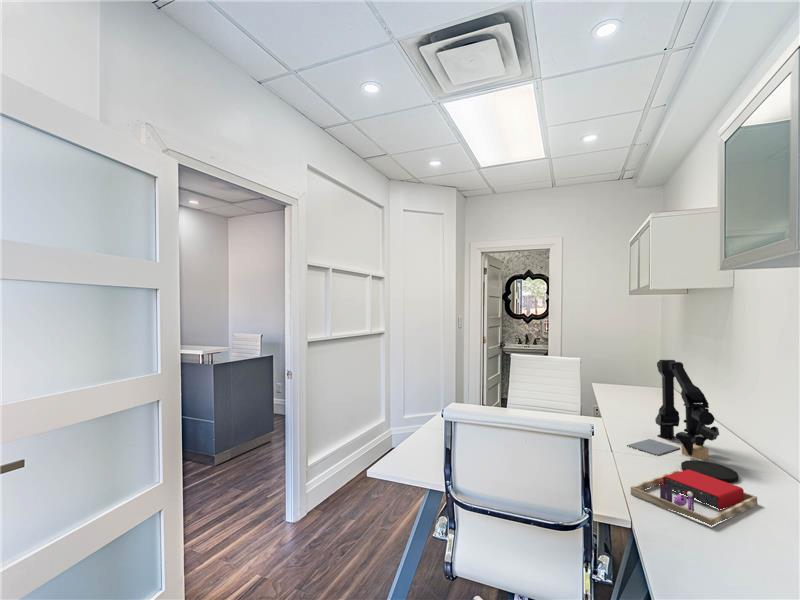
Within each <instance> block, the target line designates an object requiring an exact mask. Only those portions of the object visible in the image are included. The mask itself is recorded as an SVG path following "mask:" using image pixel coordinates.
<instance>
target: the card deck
mask: <svg viewBox="0 0 800 600" xmlns="http://www.w3.org/2000/svg"><path fill="white" fill-rule="evenodd" d="M681 455H683V456H686V457H689V456H690V455H688V453H687V451H686V449H685V447H684V446H683V444H682V443H681ZM692 457H693V459H696V460H699V459H700V460H699V461H705V460H707V459H709V448H708V447H705V446H703V447H701V446H698V445H695V444H693V452H692V456H690V458H692ZM704 459H705V460H704Z"/></svg>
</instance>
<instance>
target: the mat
mask: <svg viewBox="0 0 800 600" xmlns="http://www.w3.org/2000/svg"><path fill="white" fill-rule="evenodd" d="M627 446H629V447H628V448H631V447H632V449H634V448H635V449H634V450H637V449H638V450H637V451H640V450H641V451H640V452H643V451H644V453H646V452H647V454H650V455H653V456H656V455H657V456H656V457H659V455H660V456H662V454H663V455H666V454H668V453H667V452H669V453H671V452H670V451H672V452H675V451H678V450H680V449H681V446H675V445H672V444H668V443H666V442H661V441H658V440H654V439H651V438H647V439H644V440H640V441H637V442H634V443H630V444H627V445H626V447H627ZM677 449H678V450H677ZM674 450H675V451H674ZM665 453H666V454H665Z"/></svg>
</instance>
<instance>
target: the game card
mask: <svg viewBox="0 0 800 600" xmlns="http://www.w3.org/2000/svg"><path fill="white" fill-rule="evenodd" d="M659 486H660V487H659V488H660V489H659V491H660V492H659V498H661V499H664V500H666V501H669V502H671V503H675V504H676V505H679V506H681V507H684V506H686V505H687V504H688V505H687V507H688V508H687V509H689V510H691V511H694V512H695V510H694V509H695V507H694V506H695V504H694V502H695V500H694V493H693V492H692V491H688V490H684V489H679V488H675V487H671V486H666V485H663V484H661V485H659ZM672 488H674V489H676V492H677V493H682V494H684V495H686V493H687V495H688V498H687V497H685V496H684V495H680V494H677V493H676V494H675V496H674V497H673V491H672ZM681 490H682V491H681ZM686 491H687V492H686ZM673 498H674V499H673ZM687 499H688V501H687Z"/></svg>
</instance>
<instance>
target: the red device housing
mask: <svg viewBox="0 0 800 600" xmlns="http://www.w3.org/2000/svg"><path fill="white" fill-rule="evenodd" d="M680 471H681V472H678V473H674V474H671V475H668V476H664V477H663V484H662V485H666V486H671V487H675V488H679V489H684V490H688V491H692V492H693V493H694V498H696V499H697V500H699V501H701V502H702V503H705V504H706V503H707V504H709V505H711V506H714V507H716V508H718V509H719V510H720V509H723V508H726V507H729V508H731V507H733V505H734V506H735V505H737V504H739V503H741V502H743V501H744V493H745V492H744V488H742V487H741V486H738V485H737V484H736V485H735V484H734V483H727V482H724V481H721V480H718V479H715V478H712V477H709V476H707V475H704V474H701V473H698V472H695V471H692V470H689V469H688V470H685V471H683V470H680ZM672 490H674V491H676V489H674V488H672ZM681 491H682V490H681ZM686 492H687V491H686ZM681 494H682V493H681ZM686 496H688V495H687V493H686ZM702 503H701V504H702ZM730 506H731V507H730ZM726 509H727V508H726ZM723 510H724V509H723Z"/></svg>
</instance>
